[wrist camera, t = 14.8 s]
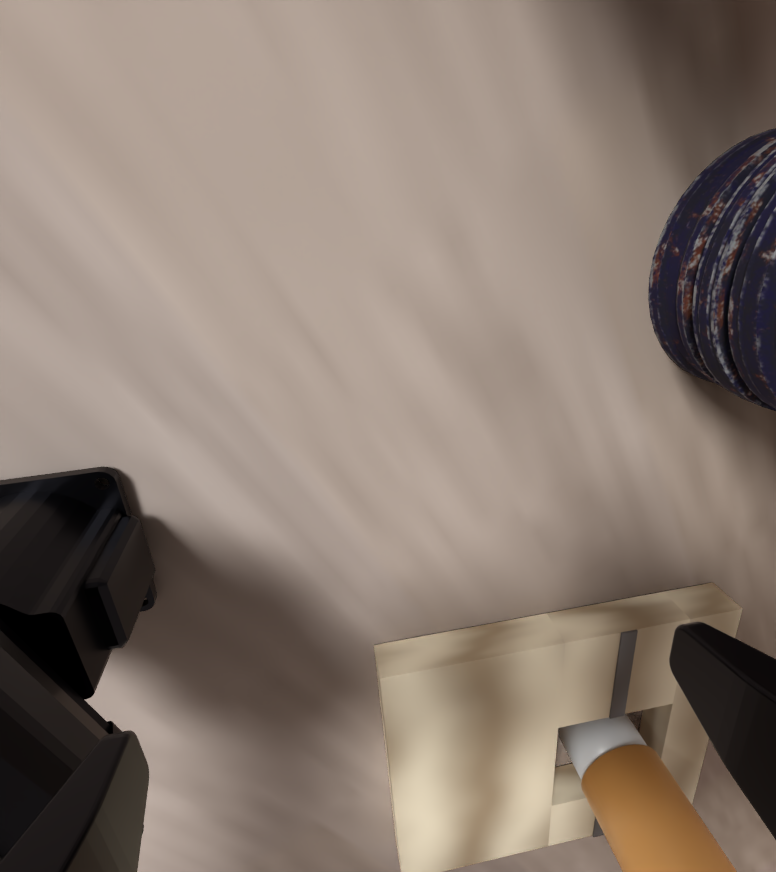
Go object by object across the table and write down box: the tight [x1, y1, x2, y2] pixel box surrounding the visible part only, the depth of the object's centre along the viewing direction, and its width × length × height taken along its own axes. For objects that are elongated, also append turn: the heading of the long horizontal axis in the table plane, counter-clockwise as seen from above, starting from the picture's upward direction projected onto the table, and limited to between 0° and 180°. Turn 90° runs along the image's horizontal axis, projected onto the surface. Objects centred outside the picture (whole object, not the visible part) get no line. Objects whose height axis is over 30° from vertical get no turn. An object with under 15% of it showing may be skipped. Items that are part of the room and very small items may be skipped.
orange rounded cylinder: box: [558, 714, 737, 872], centre depth 25 cm, size 4×4×12 cm
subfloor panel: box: [374, 583, 743, 872], centre depth 29 cm, size 18×16×2 cm
